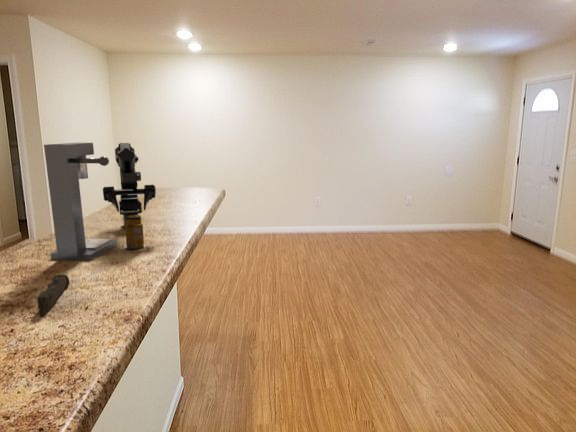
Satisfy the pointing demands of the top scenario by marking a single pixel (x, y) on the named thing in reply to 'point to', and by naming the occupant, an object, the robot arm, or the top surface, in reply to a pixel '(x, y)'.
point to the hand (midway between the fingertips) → (131, 210)
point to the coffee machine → (71, 200)
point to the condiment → (134, 234)
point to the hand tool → (52, 293)
